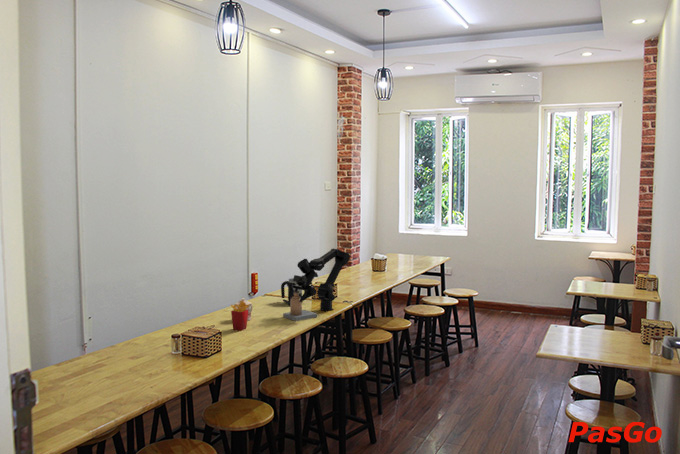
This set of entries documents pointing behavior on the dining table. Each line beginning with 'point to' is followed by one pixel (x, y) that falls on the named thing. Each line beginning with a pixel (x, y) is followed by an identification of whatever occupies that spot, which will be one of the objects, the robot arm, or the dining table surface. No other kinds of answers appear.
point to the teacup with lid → (246, 308)
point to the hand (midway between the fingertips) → (294, 300)
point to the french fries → (240, 316)
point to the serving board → (304, 315)
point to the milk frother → (288, 290)
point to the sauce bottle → (295, 304)
